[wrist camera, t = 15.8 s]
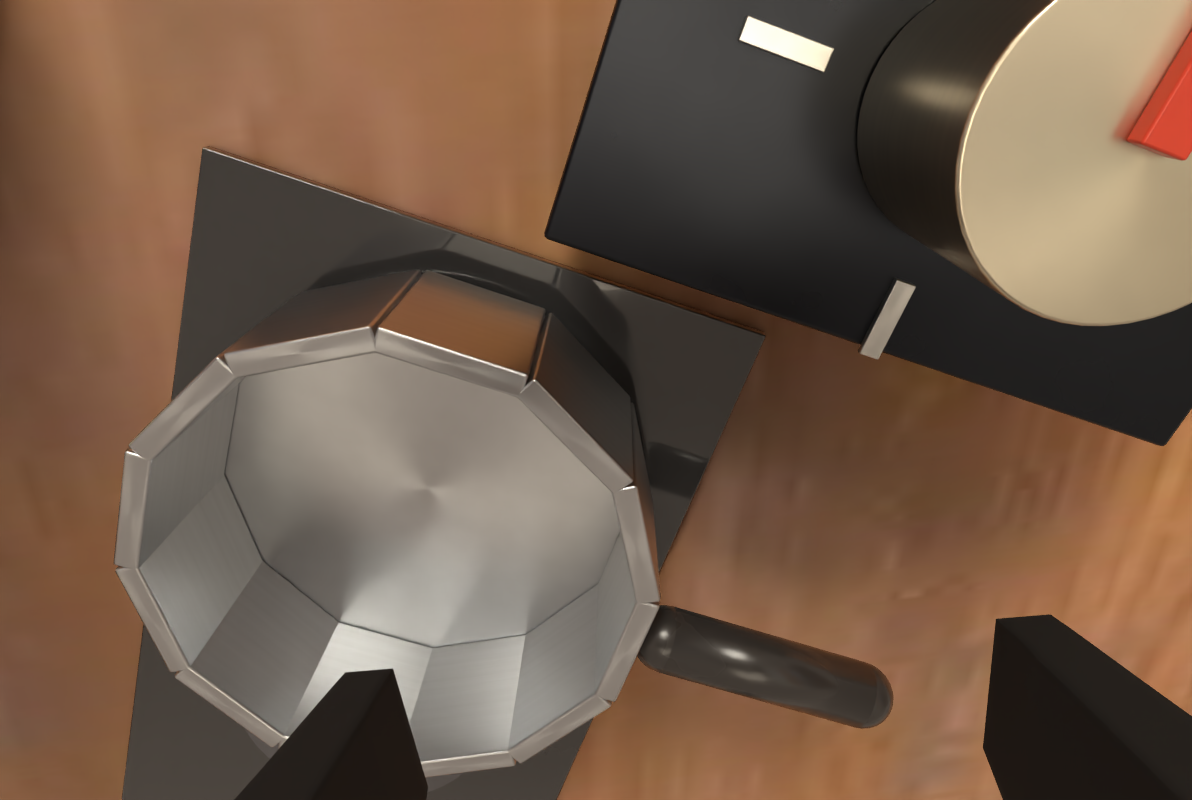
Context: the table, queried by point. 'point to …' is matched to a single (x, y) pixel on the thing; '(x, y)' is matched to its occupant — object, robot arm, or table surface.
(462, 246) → the hob
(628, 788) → the table surface
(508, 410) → the saucepan
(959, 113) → the knob
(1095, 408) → the box
